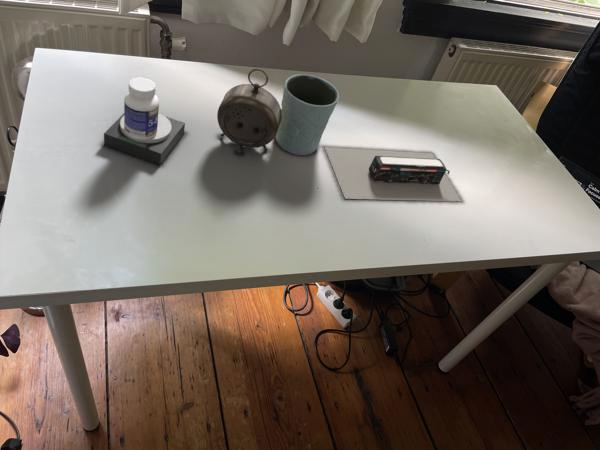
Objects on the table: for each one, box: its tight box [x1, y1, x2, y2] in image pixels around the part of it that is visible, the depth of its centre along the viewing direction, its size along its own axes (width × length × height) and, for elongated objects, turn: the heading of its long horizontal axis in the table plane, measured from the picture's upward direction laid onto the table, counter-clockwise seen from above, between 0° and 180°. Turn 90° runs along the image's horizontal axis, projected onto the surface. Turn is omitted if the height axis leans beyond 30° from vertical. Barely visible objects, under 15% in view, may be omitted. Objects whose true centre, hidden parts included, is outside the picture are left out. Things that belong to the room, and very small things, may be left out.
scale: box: [103, 112, 186, 165], centre depth 85 cm, size 10×10×3 cm
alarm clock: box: [216, 67, 282, 154], centre depth 85 cm, size 11×5×16 cm, turn 80°
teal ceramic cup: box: [275, 73, 340, 156], centre depth 92 cm, size 10×10×12 cm
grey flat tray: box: [324, 146, 462, 202], centre depth 95 cm, size 14×25×4 cm, turn 103°
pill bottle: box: [123, 77, 160, 140], centre depth 79 cm, size 5×5×9 cm
